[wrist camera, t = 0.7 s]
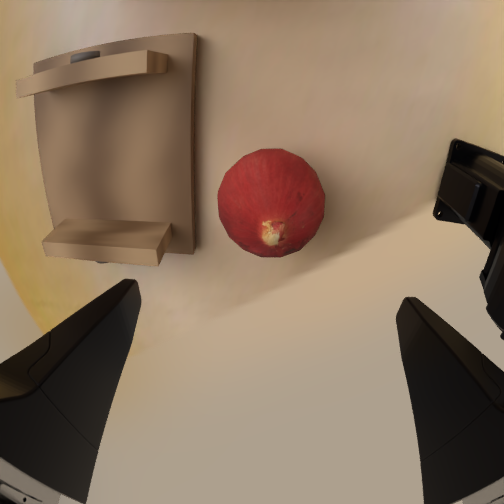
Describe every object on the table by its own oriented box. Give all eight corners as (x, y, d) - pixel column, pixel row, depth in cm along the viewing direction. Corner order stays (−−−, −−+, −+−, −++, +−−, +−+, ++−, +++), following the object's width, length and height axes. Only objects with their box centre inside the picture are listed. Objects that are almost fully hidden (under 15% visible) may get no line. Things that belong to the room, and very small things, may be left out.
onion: (324, 203, 20) (354, 272, 13) (247, 231, 22) (241, 309, 15) (294, 124, 17) (317, 155, 11) (210, 158, 19) (181, 210, 12)
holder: (197, 35, 14) (178, 22, 10) (195, 247, 22) (183, 285, 19) (41, 62, 14) (1, 67, 10) (64, 238, 22) (36, 269, 18)
